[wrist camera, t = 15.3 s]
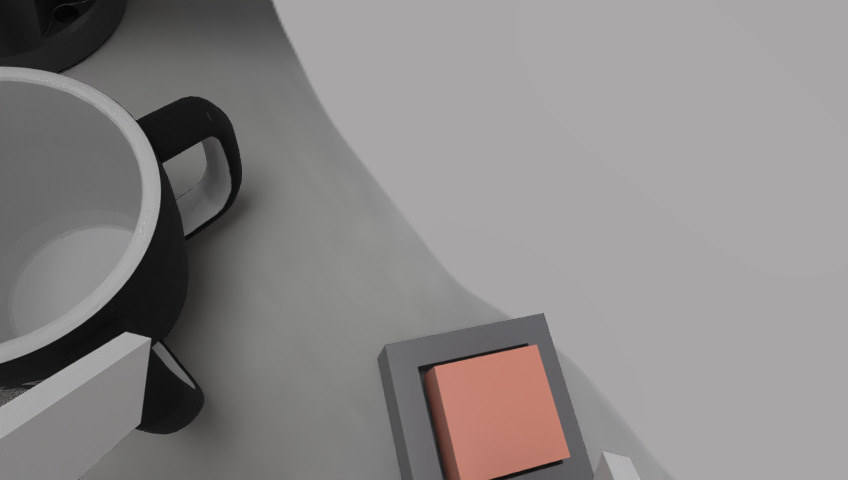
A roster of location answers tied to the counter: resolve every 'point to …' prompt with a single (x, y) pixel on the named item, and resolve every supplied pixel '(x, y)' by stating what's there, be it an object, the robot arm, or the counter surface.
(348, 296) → the counter surface
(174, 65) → the counter surface
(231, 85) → the counter surface
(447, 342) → the button housing
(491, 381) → the button
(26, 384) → the mug
